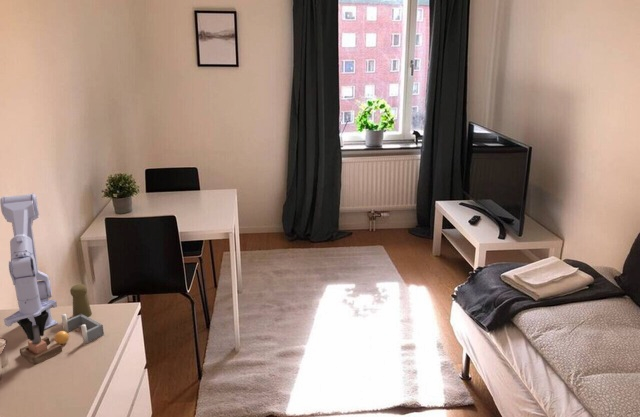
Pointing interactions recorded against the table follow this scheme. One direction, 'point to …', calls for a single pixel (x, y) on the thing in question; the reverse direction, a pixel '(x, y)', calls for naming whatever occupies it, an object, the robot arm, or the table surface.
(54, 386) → the table surface
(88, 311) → the olive green tapered cylinder
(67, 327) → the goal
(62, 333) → the ball
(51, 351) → the rail frame
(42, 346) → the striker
